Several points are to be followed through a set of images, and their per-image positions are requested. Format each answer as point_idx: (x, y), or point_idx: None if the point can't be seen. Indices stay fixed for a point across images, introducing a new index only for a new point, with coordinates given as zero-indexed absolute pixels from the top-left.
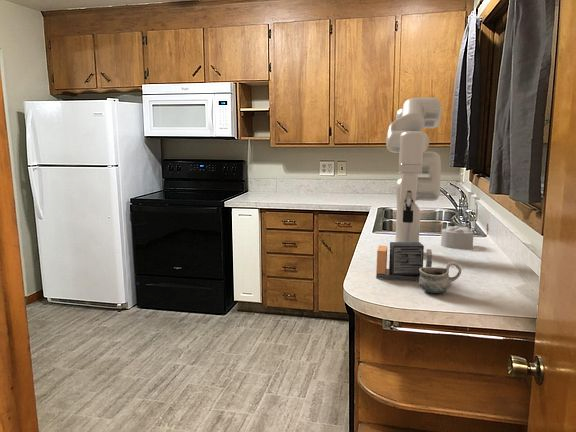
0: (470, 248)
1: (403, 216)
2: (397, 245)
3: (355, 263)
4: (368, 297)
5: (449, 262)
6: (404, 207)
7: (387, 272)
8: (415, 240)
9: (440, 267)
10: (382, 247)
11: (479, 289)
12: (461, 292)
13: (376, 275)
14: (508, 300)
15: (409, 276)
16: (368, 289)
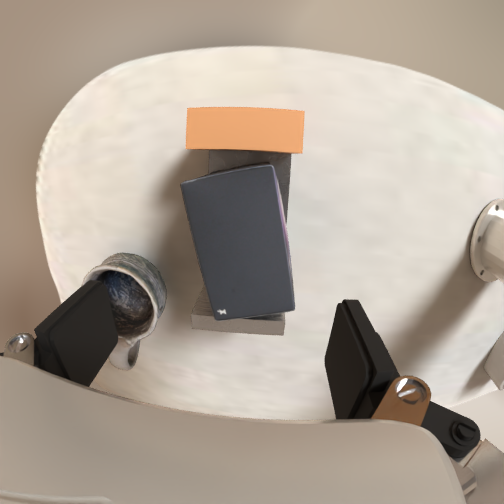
0: (484, 368)
1: (67, 303)
2: (185, 204)
3: (378, 63)
4: (64, 131)
5: (115, 353)
6: (5, 351)
7: (240, 156)
8: (502, 277)
9: (153, 326)
10: (260, 127)
11: (194, 368)
12: (159, 334)
13: None
14: (149, 389)
15: None
16: (110, 117)
